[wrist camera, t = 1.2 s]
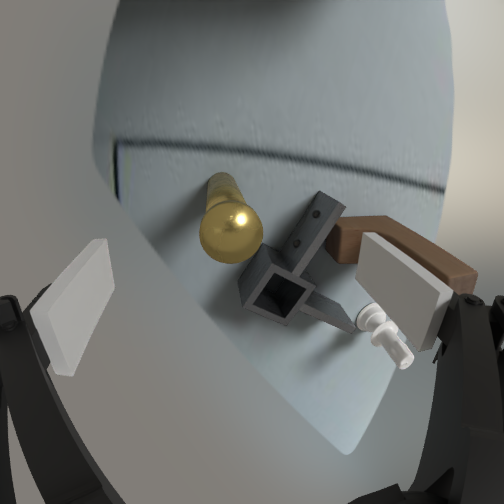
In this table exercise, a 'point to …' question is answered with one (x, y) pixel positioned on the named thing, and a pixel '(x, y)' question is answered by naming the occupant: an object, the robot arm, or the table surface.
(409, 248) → the wooden block
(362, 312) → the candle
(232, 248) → the hinge pin
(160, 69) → the table surface
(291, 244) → the square tube bracket
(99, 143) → the table surface
